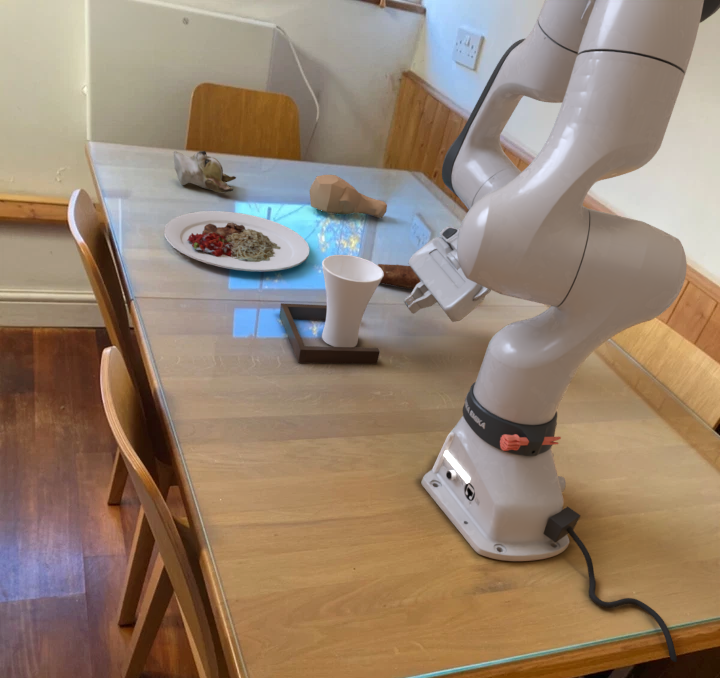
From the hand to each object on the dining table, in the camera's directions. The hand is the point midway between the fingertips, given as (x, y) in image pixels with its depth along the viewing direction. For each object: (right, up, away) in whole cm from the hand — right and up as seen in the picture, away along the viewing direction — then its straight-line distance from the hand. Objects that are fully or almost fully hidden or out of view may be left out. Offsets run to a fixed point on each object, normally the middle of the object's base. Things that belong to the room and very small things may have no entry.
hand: (407, 307), depth 124 cm
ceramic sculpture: (-47, +41, +47) cm, 78 cm away
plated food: (-34, +18, +24) cm, 46 cm away
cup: (-12, -6, +1) cm, 13 cm away
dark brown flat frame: (-14, -6, 0) cm, 15 cm away
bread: (+3, +9, +24) cm, 26 cm away
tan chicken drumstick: (-12, +36, +52) cm, 65 cm away
